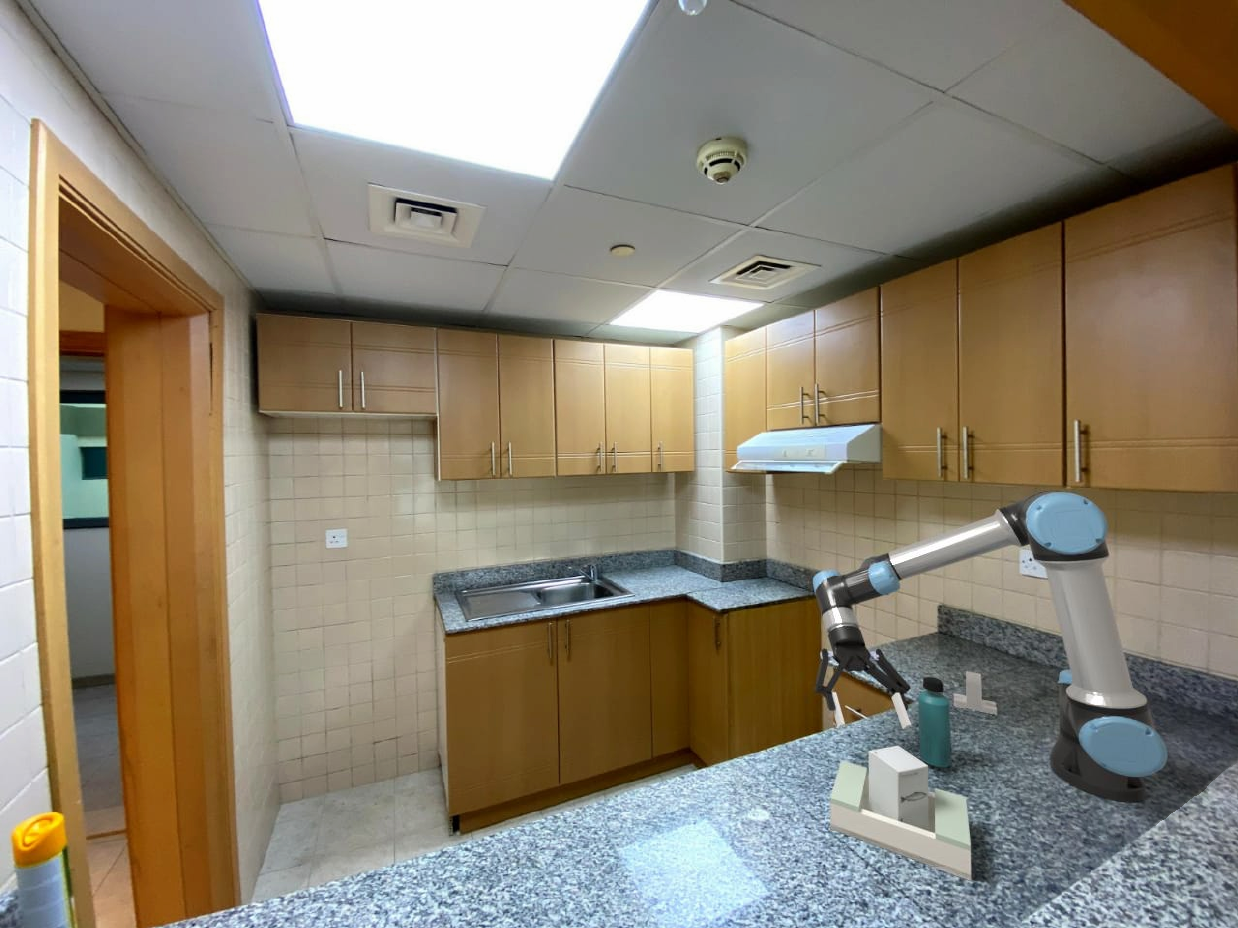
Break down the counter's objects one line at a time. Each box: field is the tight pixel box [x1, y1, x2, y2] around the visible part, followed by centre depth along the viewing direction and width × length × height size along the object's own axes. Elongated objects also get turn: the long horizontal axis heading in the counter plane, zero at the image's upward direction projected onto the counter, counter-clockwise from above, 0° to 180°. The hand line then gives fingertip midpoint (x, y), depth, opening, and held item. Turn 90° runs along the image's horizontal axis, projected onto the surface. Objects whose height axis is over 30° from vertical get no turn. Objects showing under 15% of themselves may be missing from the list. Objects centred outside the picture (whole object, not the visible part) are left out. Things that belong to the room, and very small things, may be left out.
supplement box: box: [868, 745, 929, 831], centre depth 93 cm, size 7×7×13 cm
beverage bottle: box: [917, 676, 953, 768], centre depth 113 cm, size 6×7×20 cm
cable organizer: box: [953, 670, 998, 716], centre depth 139 cm, size 5×10×10 cm, turn 56°
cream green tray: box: [829, 760, 972, 882], centre depth 93 cm, size 22×14×6 cm, turn 57°
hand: (874, 726), depth 102 cm, fingers open, 13 cm apart
